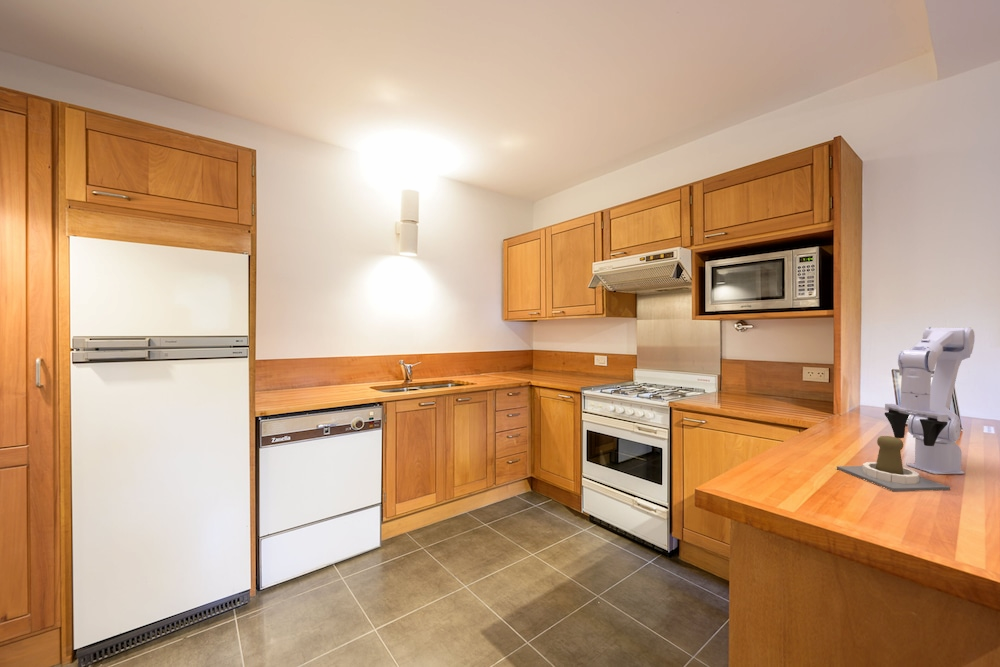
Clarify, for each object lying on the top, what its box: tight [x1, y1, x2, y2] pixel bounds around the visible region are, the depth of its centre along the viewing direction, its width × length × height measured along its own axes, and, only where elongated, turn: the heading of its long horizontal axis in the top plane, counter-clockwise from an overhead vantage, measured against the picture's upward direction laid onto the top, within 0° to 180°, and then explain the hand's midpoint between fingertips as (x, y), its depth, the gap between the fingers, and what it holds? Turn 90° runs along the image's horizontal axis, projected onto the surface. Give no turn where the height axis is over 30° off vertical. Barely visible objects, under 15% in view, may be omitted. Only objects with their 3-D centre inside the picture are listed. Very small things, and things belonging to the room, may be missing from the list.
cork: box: [875, 435, 904, 475], centre depth 112 cm, size 6×6×11 cm
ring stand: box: [836, 461, 951, 492], centre depth 112 cm, size 16×16×3 cm
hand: (913, 441), depth 112 cm, fingers open, 7 cm apart
